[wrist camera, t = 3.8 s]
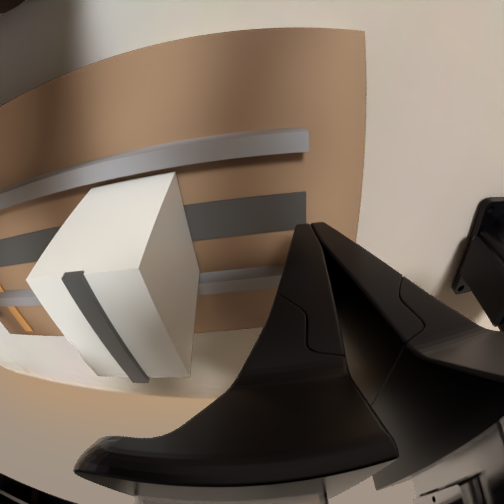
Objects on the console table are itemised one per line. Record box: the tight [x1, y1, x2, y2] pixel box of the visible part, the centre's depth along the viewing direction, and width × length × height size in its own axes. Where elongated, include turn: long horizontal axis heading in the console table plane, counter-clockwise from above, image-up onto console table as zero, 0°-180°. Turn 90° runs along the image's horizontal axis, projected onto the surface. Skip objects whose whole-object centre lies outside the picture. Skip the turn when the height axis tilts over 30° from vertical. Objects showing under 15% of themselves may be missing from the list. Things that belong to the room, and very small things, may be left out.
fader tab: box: [26, 172, 200, 383], centre depth 8 cm, size 3×4×5 cm
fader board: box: [0, 28, 366, 336], centre depth 10 cm, size 20×12×3 cm, turn 95°
